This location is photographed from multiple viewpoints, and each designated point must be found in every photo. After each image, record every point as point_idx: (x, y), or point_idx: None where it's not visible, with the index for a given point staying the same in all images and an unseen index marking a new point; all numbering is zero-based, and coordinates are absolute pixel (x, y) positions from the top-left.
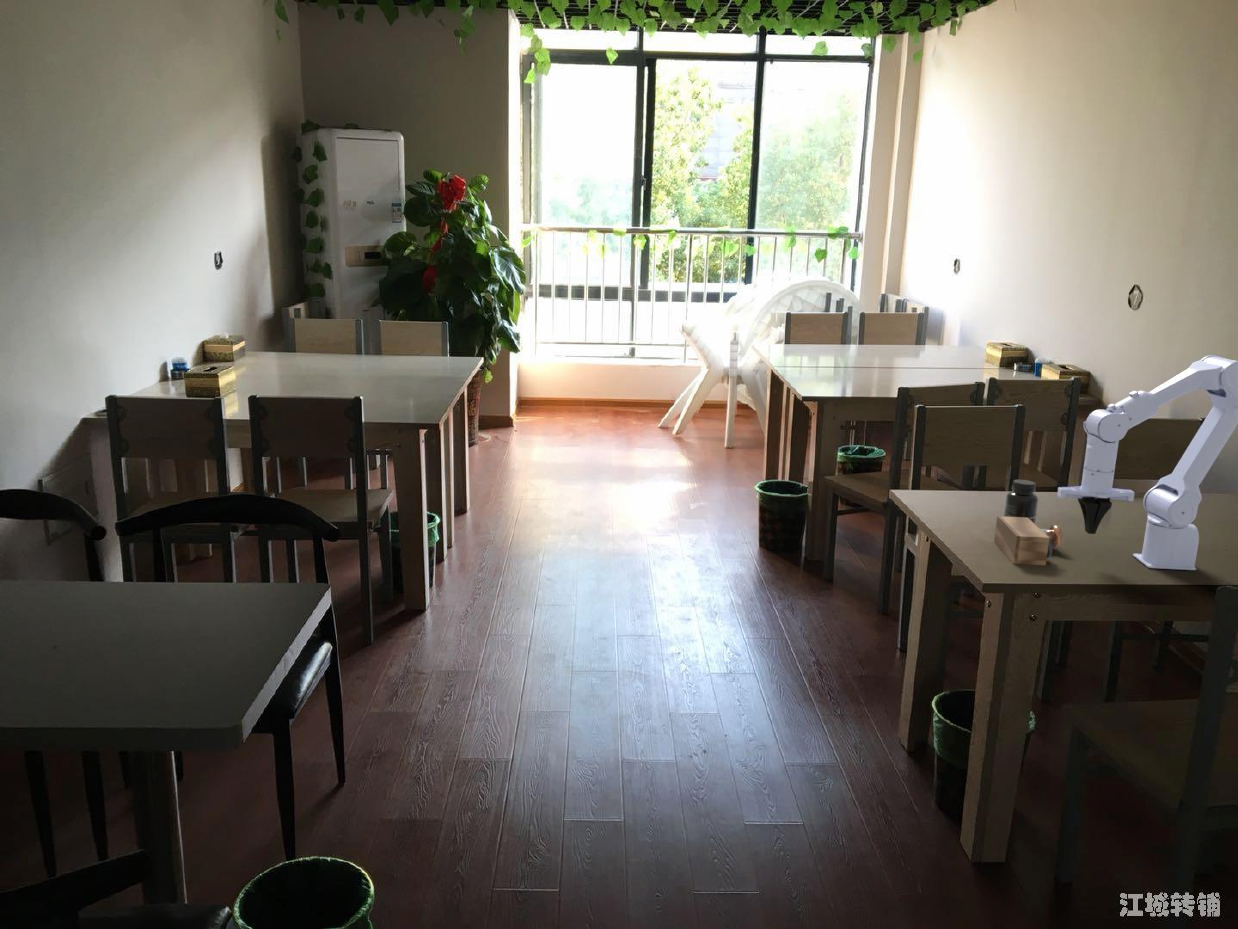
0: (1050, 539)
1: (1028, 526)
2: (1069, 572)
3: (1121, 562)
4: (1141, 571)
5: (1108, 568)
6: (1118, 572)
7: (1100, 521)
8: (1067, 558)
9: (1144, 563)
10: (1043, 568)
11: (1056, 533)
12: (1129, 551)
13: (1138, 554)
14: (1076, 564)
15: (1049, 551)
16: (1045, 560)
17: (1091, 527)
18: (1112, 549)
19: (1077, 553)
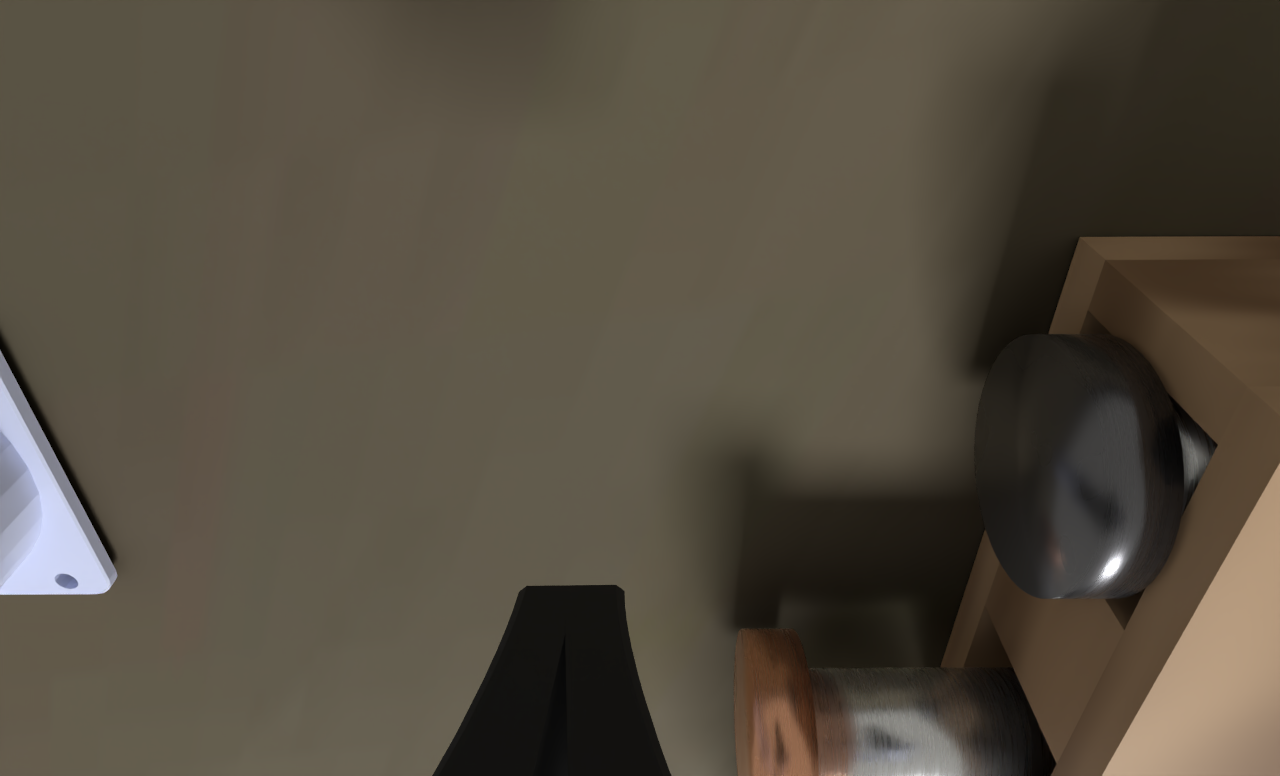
0: (1130, 495)
1: (1222, 761)
2: (926, 31)
3: (239, 429)
4: (55, 205)
5: (403, 246)
6: (317, 129)
7: (438, 772)
8: (728, 458)
9: (14, 393)
10: (1172, 132)
11: (812, 729)
12: (145, 658)
13: (68, 585)
14: (711, 316)
15: (1105, 347)
16: (1116, 260)
17: (600, 660)
18: (272, 676)
19: (584, 575)
